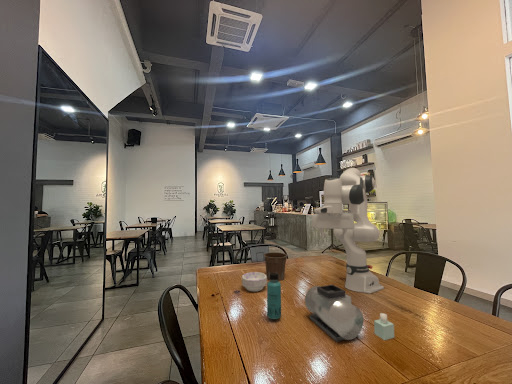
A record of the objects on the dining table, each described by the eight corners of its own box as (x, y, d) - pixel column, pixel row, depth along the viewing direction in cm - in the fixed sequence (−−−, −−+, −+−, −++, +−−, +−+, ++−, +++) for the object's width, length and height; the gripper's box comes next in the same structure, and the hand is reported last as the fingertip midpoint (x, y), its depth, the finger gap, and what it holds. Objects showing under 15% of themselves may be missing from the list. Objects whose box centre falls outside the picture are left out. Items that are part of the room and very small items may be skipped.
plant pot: (291, 276, 156) (290, 253, 157) (281, 283, 142) (280, 258, 143) (271, 273, 165) (270, 251, 165) (259, 279, 151) (259, 255, 152)
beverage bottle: (266, 315, 102) (265, 271, 103) (280, 315, 102) (279, 271, 103) (268, 323, 95) (267, 276, 96) (283, 322, 96) (282, 275, 97)
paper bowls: (253, 296, 124) (252, 281, 124) (237, 288, 135) (236, 275, 136) (272, 289, 134) (271, 275, 134) (255, 282, 145) (255, 270, 146)
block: (384, 331, 88) (383, 310, 89) (394, 337, 84) (393, 316, 85) (374, 333, 87) (373, 312, 87) (384, 340, 83) (383, 318, 83)
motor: (322, 308, 108) (321, 276, 109) (364, 338, 84) (362, 296, 84) (300, 312, 104) (300, 279, 105) (337, 345, 80) (336, 301, 81)
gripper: (350, 210, 113) (350, 237, 112) (311, 209, 112) (311, 237, 110) (356, 210, 107) (357, 239, 105) (315, 209, 105) (315, 238, 104)
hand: (333, 238), depth 108 cm, fingers open, 8 cm apart
